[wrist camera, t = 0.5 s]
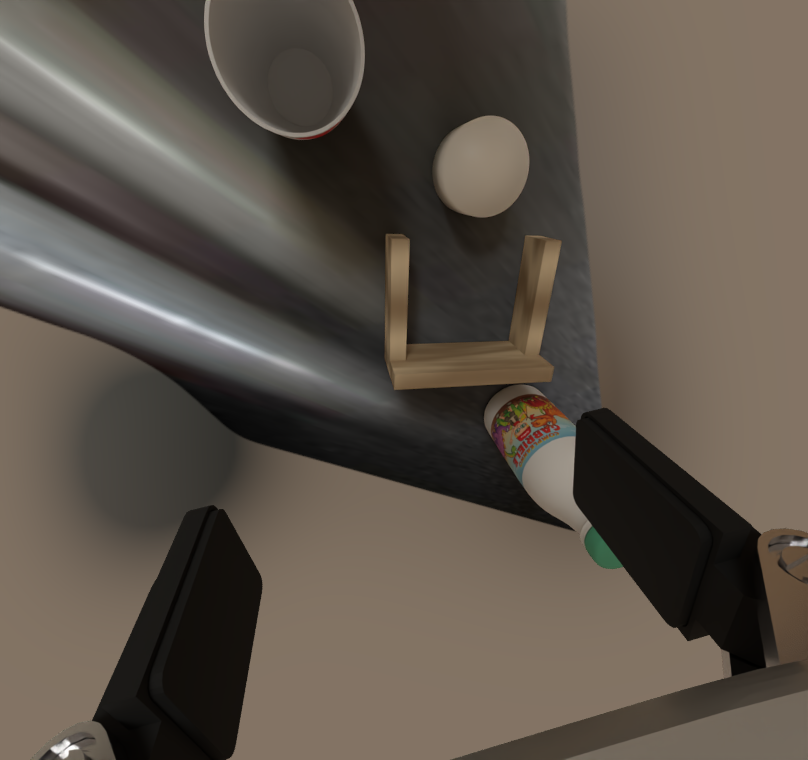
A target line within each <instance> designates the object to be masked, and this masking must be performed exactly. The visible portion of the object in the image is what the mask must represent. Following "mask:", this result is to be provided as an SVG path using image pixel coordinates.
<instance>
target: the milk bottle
mask: <svg viewBox="0 0 808 760" xmlns="http://www.w3.org/2000/svg"><path fill="white" fill-rule="evenodd" d="M484 423H485V427H486V429H487V431H488V432H489V434H490V436H491V437H492V439H493V441H494V442H495V444H496V445H497V447H498V449H499V450H500V452H501V453H502V455H503V456H504V458H505V460H506V461H507V463H508V464H509V466H510V467H511V469H512V470H513V472H514V474H515V475H516V477H517V478H518V480H519V481H520V483H521V484H522V486H523V487H524V488H525V490H526V491H527V493H528V494H529V495H530V496H531V498H532V499H533V500H534V501H535V502H536V503H537V504H538V505H539V506H540V507H541V508H543V509H544V510H545V511H547V512H548V513H550V514H551V515H553V516H555V517H556V518H558V519H560V520H562V521H563V522H565V523H567V524H568V525H569V526H571V527H572V528H573V529H574V530H575V531H576V532H577V533H578V534H579V535H580V541H581V543H582V544H583V545H584V546H585V547H586V550H587V551H588V553H589V554H590V556H591V557H592V559H593V560H594V561H595V562H596V563H597V564H598V565H599V566H601V567H603V568H608V569H615V568H620V567H623V565H622V564H621V563H620V561H619V560H618V559H617V558H616V556H615V555H614V554H613V552H612V551H611V550H610V548H609V547H608V546H607V544H606V543H605V542H604V540H603V539H602V538H601V537H600V535H599V534H598V533H597V531H596V530H595V529H594V527H593V526H592V525H591V523H590V522H589V521H588V519H587V518H586V517H585V516H584V514H583V513H582V512H581V510H580V509H579V508H578V506H577V505H576V503H575V500H574V498H573V477H574V457H575V438H576V426H575V425H574V424H573V423H572V422H571V421H570V420H569V419H568V418H567V417H566V416H565V415H564V414H563V413H562V412H561V411H560V410H559V409H558V408H557V407H556V406H555V405H554V404H553V403H552V402H551V401H550V400H548V399H547V398H546V397H545V396H544V395H543V394H542V393H541V392H540V391H539V390H538V389H536V388H534V387H532V386H529V385H523V384H519V385H512V386H508V387H506V388H504V389H502V390H501V391H499V392H497V393H496V394H495V395H494V396H493V397H492V399H491V400H490V401H489V403H488V405H487V406H486V409H485V414H484Z"/></svg>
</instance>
